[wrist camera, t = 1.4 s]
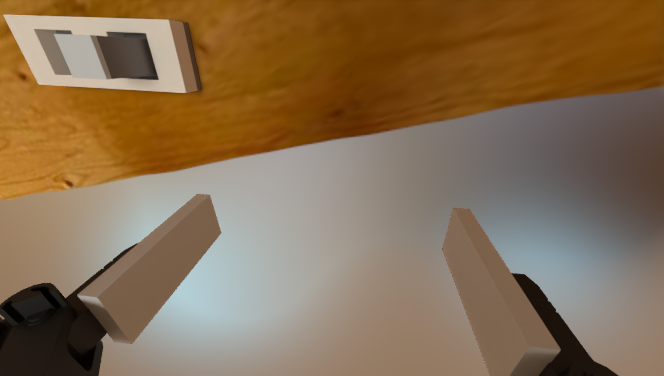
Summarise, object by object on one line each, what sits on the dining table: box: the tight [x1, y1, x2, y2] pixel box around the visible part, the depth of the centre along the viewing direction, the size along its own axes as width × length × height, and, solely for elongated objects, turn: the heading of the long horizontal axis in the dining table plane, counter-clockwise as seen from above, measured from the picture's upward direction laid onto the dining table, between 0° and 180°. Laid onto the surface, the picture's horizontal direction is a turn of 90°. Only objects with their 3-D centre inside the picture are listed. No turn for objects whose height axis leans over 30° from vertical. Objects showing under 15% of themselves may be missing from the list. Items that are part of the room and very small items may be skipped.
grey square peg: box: [54, 34, 157, 80], centre depth 29 cm, size 4×4×9 cm
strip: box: [3, 15, 202, 93], centre depth 33 cm, size 8×22×4 cm, turn 88°
